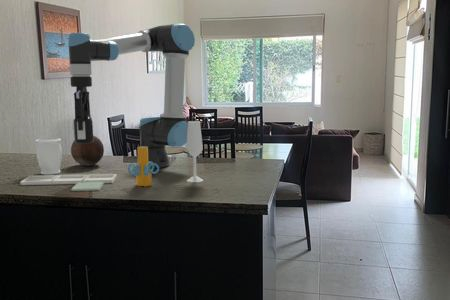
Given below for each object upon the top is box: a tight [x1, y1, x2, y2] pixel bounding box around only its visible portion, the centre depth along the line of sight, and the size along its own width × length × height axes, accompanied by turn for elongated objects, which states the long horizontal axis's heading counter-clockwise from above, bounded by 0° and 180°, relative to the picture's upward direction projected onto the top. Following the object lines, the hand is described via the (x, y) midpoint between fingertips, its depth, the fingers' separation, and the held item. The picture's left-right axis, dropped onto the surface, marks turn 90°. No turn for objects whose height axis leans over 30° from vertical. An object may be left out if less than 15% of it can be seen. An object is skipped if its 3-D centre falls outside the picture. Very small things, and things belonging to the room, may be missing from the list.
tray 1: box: [19, 174, 59, 186], centre depth 186 cm, size 11×11×1 cm
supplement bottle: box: [73, 110, 94, 143], centre depth 173 cm, size 7×7×12 cm
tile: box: [70, 182, 105, 192], centre depth 176 cm, size 10×10×1 cm
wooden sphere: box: [70, 134, 105, 167], centre depth 219 cm, size 15×15×15 cm
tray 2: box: [83, 173, 118, 184], centre depth 188 cm, size 11×11×1 cm
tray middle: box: [51, 174, 88, 186], centre depth 187 cm, size 11×11×1 cm
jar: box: [35, 137, 63, 175], centre depth 202 cm, size 11×10×15 cm
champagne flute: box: [185, 120, 204, 183], centre depth 186 cm, size 7×7×24 cm
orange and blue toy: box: [127, 145, 160, 187], centre depth 179 cm, size 12×10×15 cm
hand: (84, 137), depth 174 cm, fingers closed on supplement bottle, 7 cm apart
